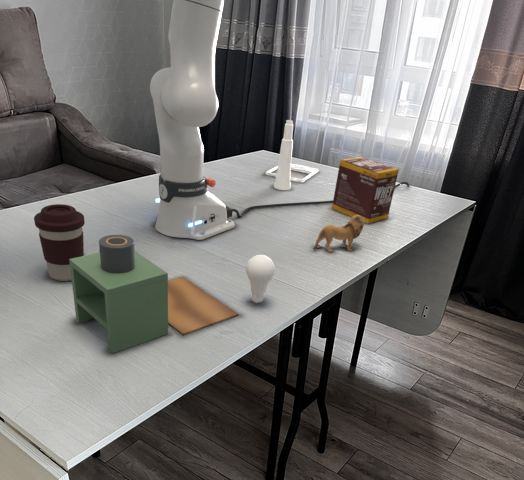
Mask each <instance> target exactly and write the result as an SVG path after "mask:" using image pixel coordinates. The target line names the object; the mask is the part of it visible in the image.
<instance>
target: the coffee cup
mask: <svg viewBox="0 0 524 480" xmlns="http://www.w3.org/2000/svg"><path fill="white" fill-rule="evenodd" d="M33 220H34V222H33V223H34V226H35V227H36V228H37V229H38V231H39V233H38V237H39V241H40V245H41V249H42V254H43V259H44V261H45V263H46V268H47V272H48V275H49V277H50V278H51V279H53V280H55V281H60V282H70V281H71V282H72V278H71V270H70V262H69V259H72V258H76V257H81V256H85V252H84V251H85V250H84V249H85V248H84V247H85V245H84V231H83V227H84V226H85V216H84V214H83V213H82V212H80V211H77V209H76V208H75V207H74V206H72V205H68V204H62V203H56V204H49V205H46V206H44V207H42V208H41V209H40V211H39V212H38V213H36V214H35V215H34V217H33Z"/></svg>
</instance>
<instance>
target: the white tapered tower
mask: <svg viewBox="0 0 524 480" xmlns="http://www.w3.org/2000/svg"><path fill="white" fill-rule="evenodd" d="M285 122H286V123H284V130H283V138H282V139H281V144H280V148H279V149H280V150H279V157H278V164H277V165H278V169H277V170H276V173H275V174H276V177H275V179H274V183H273V188H274V189H275V190H279V191H290V190H291V188H292V183H291V181H292V180H291V177H292V175H291V174H292V170H291V163H292V157H293V144H294V140H293V131H294V121H293V120H292V119H286V120H285Z"/></svg>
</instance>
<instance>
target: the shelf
mask: <svg viewBox="0 0 524 480" xmlns="http://www.w3.org/2000/svg"><path fill="white" fill-rule="evenodd" d="M69 262H70V270H71V278H72V280H71V286H72V295H73V304H74V310H75V311H74V312H75V318H76V321H77V323H83V322H86V321H90V320H92V319H94V320H96V321H97V322H98V323H99V324H100V325H101V326H103V328H105V329H106V330H107V341H108V342H107V343H108V351H109V352H110V353H111V354H115V353H116V354H117V353H119V352H120V351H121V352H122V351H124V350H126V349H127V350H128V349H130V348H132V347H135V346H138V345H142V344H143V343H146V342H149V341H152V340H155V339H157V338H158V339H159V338H161V337H163V336H164V337H165V336H166V335H168V334H169V324H168V281H169V273H168V272H167V271H166V270H164V269H162V268H161V267H160V266H158V265H157V264H156V263H154V262H152V261H151V260H149V259H148V258H146V257H145V256H143V255H142V254H141V253H139V252H137V251H136V250H135V268H134V269H133V270H131V271H129V272H125V273H110V272H107V271H104V270H103V269H102V268H101V260H100V251H99V252H94V253H90V254H86V255H85V254H84V256H81V257H76V258H72V259H69Z"/></svg>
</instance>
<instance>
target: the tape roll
mask: <svg viewBox="0 0 524 480" xmlns="http://www.w3.org/2000/svg"><path fill="white" fill-rule="evenodd" d="M98 246H99V252H100V260H101V268H102V269H103V270H104V271H107V272H110V273H125V272H129V271H131V270H133V269H134V268H135V251H136V250H135V240H134V239H133V238H132V236H131V237H130V236H128V235H124V234H109V235H105V236H103V237H101V238H99V240H98Z"/></svg>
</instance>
